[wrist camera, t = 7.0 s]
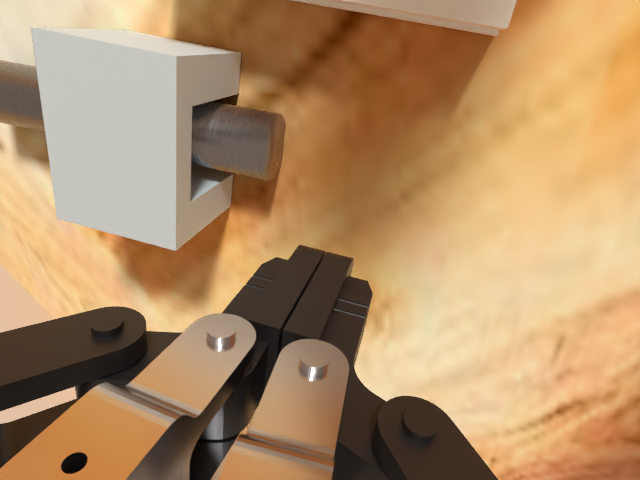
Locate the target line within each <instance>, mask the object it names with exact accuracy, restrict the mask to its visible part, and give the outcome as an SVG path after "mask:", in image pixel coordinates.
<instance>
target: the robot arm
mask: <svg viewBox="0 0 640 480" xmlns="http://www.w3.org/2000/svg"><path fill="white" fill-rule="evenodd" d="M353 261H354V259H353V258H350V257H346V256H342V255H338V254H334V253H330V252H327V253H326V252H325V251H322V250H318V249H314V248H310V247H306V246H302V245H299V246H298V247H297V249H296V250H295V251H294V253H293V254H292V256H291V257H290V258H289V260H285V259H281V258H277V257H276V258H274V259H272V260H270V261H268V262H266V263H264V264H262V265H261V266H260V267H259V269H258V270H257V271H256V272H255V273H254V275H253V277H251V278H250V280H249V281H248V282H247V284H246V285H245V286H244V287H243V288H242V289H241V290H240V292H239V293H238V294H237V295H236V297H235V298H234V299H233V300H232V301H231V303H230V304H229V305H228V306H227V308H226V309H225V310H224V311H223V312H222V314H212V315H208V316H205V317H202V318H200V319H198V320H196V321H195V322H194V323H192V324H191V325H190V326H189V327H188V328H187V329H186V330H185V331H184V332H183V333H171V332H152V331H146V321H145V318H144V317H143V315H142V314H140V313H139V312H137V311H136V310H133V309H130V308H126V307H104V308H99V309H95V310H91V311H87V312H83V313H79V314H75V315H71V316H67V317H63V318H59V319H55V320H51V321H46V322H42V323H39V324H34V325H30V326H26V327H22V328H18V329H14V330H10V331H6V332H2V333H0V411H2V410H5V409H8V408H11V407H14V406H17V405H20V404H23V403H26V402H29V401H32V400H35V399H38V398H41V397H44V396H47V395H50V394H53V393H56V392H59V391H62V390H65V389H68V388H71V387H74V386H75V390H76V395H77V399H75V400H72V401H69V402H66V403H64V404H61V405H58V406H55V407H52V408H49V409H46V410H43V411H41V412H38V413H35V414H32V415H30V416H27V417H23V418H21V419H18V420H15V421H12V422H9V423H4V424H0V480H498V479H497V478H496V476H495V475H494V474H493V472H492V471H491V470H490V469H489V467H488V466H487V465H486V463H485V462H484V461H483V460H482V458H481V457H480V456H479V455H478V453H477V452H476V451H475V449H474V448H473V447H472V446H471V444H470V443H469V442H468V440H467V439H466V438H465V437H464V435H463V434H462V433H461V431H460V430H459V429H458V428H457V426H456V425H455V424H454V422H453V421H452V420H451V419H450V418H449V416H448V415H447V414H446V413H445V412H444V411H443V410H441V409H440V408H439V407H437V406H436V405H434V404H433V403H431V402H429V401H427V400H424V399H421V398H418V397H413V396H400V397H395V398H393V399H390V400H389V401H387V402H386V401H385V400H383V399H381V398H380V397H378V396H377V395H375V394H374V393H372V392H371V391H369V390H368V389H367V388H366V387H365V386H364V385H363V384H362V383H361V381H360V380H359V378H358V377H357V375H356V373H355V369H354V365H355V361H356V358H357V354H358V351H359V347H360V344H361V340H362V336H363V332H364V328H365V323H366V319H367V315H368V311H369V307H370V303H371V299H372V291H371V288H370V286H369V283H368V281H365V280H361V279H357V278H354V277H351V272H352V267H353ZM257 407H258V408H257ZM256 408H257V410H256ZM255 410H256V413H255V415H254V418H253V420H252V423H251V425H250V428H249V430H248V423H249V422H250V420H251V418H252V416H253V414H254V412H255ZM247 430H248V432H247Z"/></svg>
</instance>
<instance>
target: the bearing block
mask: <svg viewBox="0 0 640 480" xmlns="http://www.w3.org/2000/svg"><path fill="white" fill-rule="evenodd" d="M31 34H32V41H33V48H34V55H35V62H36V70H37V77H38V84H39V91H40V98H41V106H42V113H43V120H44V127H45V134H46V142H47V149H48V156H49V163H50V170H51V178H52V185H53V192H54V199H55V206H56V214H57V219H60V220H64V221H68V222H71V223H75V224H79V225H82V226H86V227H90V228H93V229H97V230H101V231H104V232H108V233H112V234H115V235H119V236H123V237H126V238H130V239H134V240H137V241H141V242H145V243H148V244H152V245H156V246H159V247H163V248H167V249H170V250H174V251H176V250H178V249H179V248H180V247H181V246H183V245H184V244H185V243H186V242H187V241H189V240H190V239H191V238H192V237H194V236H195V235H196V234H197V233H198V232H200V231H201V230H202V229H203V228H205V227H206V226H207V225H208V224H209V223H211V222H212V221H213V220H214V219H216V218H217V217H218V216H219V215H220V214H222V213H223V212H224V211H225V210H227V209H228V208H229V207H230V206H231V197H232V182H233V174H231V173H227V172H223V171H219V170H215V169H210V168H206V167H202V166H197V165H193V164H191V143H192V106H195V105H199V104H203V103H206V102H210V101H214V100H217V99H221V98H225V97H229V96H232V95H236V94H239V79H240V64H241V52H236V51H231V50H226V49H221V48H216V47H211V46H205V45H200V44H195V43H190V42H185V41H180V40H175V39H170V38H165V37H160V36H155V35H149V34H144V33H139V32H134V31H129V30H105V29H77V28H50V27H31Z"/></svg>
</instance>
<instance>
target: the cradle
mask: <svg viewBox="0 0 640 480" xmlns="http://www.w3.org/2000/svg"><path fill="white" fill-rule="evenodd" d="M291 1H297V2H302V3H308V4H314V5H319V6H325V7H331V8H337V9H342V10H348V11H354V12H359V13H365V14H371V15H377V16H382V17H388V18H394V19H399V20H405V21H411V22H417V23H422V24H428V25H434V26H439V27H445V28H451V29H457V30H462V31H468V32H474V33H479V34H485V35H491V36H498V33H499V30H504V29H508V26H509V23H510V20H511V17H512V14H513V10H514V7H515V4H516V1H517V0H291Z"/></svg>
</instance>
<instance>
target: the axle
mask: <svg viewBox="0 0 640 480" xmlns="http://www.w3.org/2000/svg"><path fill="white" fill-rule="evenodd" d="M0 122H1V123H6V124H10V125H15V126H19V127H24V128H29V129H33V130H38V131H42V132H45V127H44V120H43V113H42V106H41V98H40V91H39V84H38V77H37V70H36V67H34V66H29V65H24V64H19V63H13V62H8V61H3V60H0ZM284 135H285V120H284V118H283V116H282V115H281V114H276V113H271V112H266V111H261V110H256V109H251V108H245V107H240V106H235V105H230V104H225V103H220V102H214V101H210V102H206V103H203V104H199V105H195V106H192V143H191V164H193V165H197V166H202V167H206V168H211V169H215V170H220V171H225V172H229V173H234V174H238V175H243V176H247V177H252V178H256V179H261V180H266V181H271V180H272V179H273V178H274V177H275V175H276V174H277V172H278V169H279V167H280V164H281V160H282V154H283V144H284Z"/></svg>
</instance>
